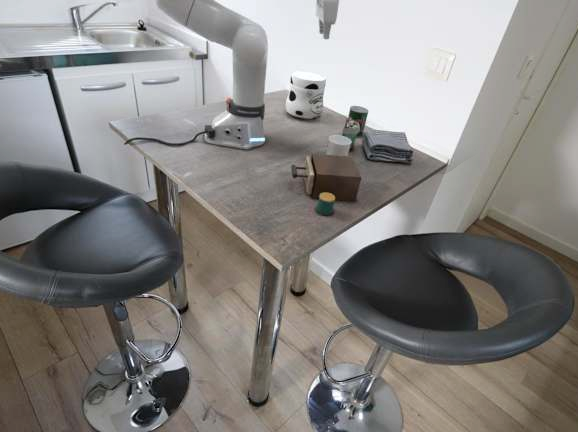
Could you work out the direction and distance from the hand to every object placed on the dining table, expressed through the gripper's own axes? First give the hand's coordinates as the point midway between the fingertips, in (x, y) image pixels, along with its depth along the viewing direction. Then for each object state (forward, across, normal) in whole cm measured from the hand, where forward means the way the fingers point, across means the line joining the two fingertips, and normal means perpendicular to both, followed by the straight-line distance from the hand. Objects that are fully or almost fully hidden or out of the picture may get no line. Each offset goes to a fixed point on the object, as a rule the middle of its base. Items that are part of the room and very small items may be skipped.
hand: (323, 36), depth 115 cm
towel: (+42, +3, +27) cm, 50 cm away
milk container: (+39, -32, -2) cm, 51 cm away
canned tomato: (+41, -16, +18) cm, 48 cm away
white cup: (+40, +16, +4) cm, 43 cm away
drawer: (+37, +32, -4) cm, 49 cm away
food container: (+40, 0, +12) cm, 42 cm away
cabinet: (+39, +32, 0) cm, 50 cm away
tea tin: (+38, +45, -4) cm, 59 cm away
